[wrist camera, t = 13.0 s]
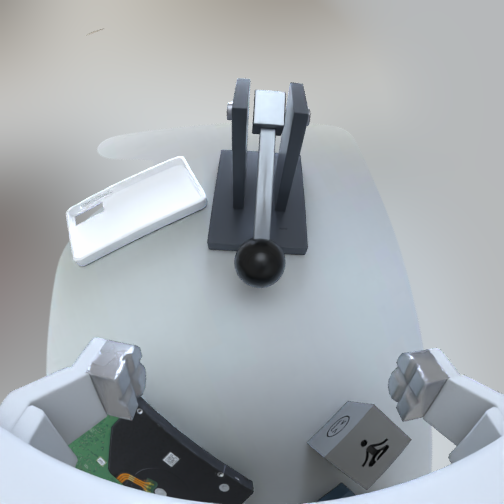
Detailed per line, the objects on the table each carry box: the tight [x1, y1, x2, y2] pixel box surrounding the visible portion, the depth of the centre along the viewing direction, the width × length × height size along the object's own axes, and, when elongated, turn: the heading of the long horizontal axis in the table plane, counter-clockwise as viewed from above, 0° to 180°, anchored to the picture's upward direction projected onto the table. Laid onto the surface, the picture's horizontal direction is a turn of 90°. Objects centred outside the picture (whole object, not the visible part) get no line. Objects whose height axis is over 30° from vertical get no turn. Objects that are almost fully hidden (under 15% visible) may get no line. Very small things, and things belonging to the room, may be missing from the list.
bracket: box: [207, 78, 310, 255], centre depth 23 cm, size 12×9×13 cm
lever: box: [234, 90, 286, 288], centre depth 19 cm, size 14×4×4 cm
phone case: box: [66, 156, 207, 266], centre depth 27 cm, size 7×1×15 cm
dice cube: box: [307, 401, 412, 490], centre depth 16 cm, size 5×5×5 cm
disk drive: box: [68, 396, 254, 504], centre depth 15 cm, size 10×3×15 cm
